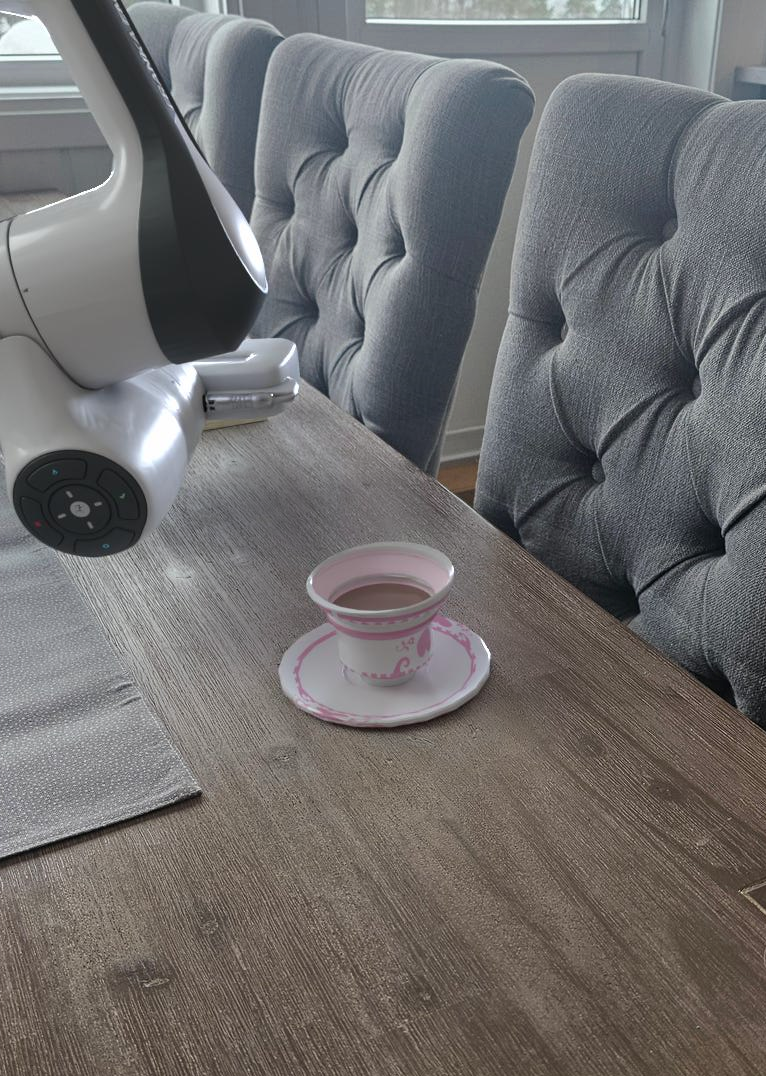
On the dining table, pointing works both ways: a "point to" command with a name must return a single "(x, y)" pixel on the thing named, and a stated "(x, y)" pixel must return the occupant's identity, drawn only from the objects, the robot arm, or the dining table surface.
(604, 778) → the dining table surface
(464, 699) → the teacup
